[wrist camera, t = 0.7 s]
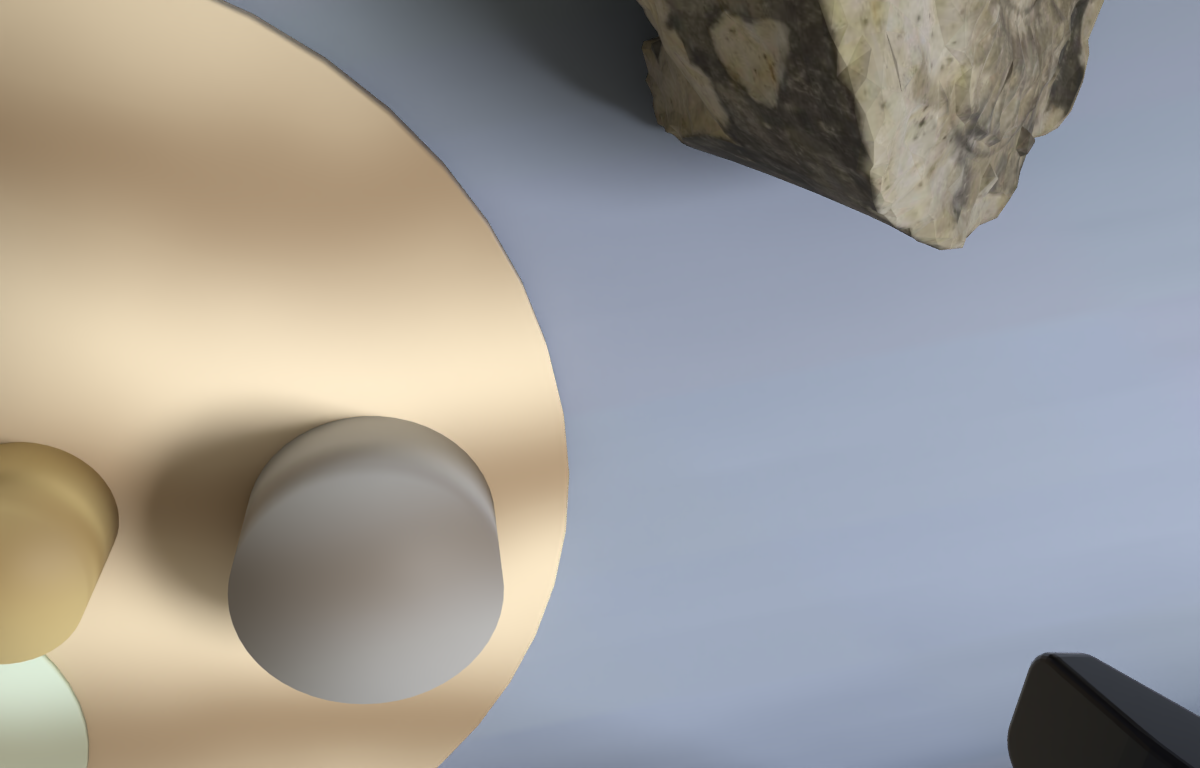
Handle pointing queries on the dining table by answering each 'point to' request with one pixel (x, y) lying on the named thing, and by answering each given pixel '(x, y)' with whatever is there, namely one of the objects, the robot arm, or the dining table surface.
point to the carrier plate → (252, 409)
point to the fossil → (873, 96)
